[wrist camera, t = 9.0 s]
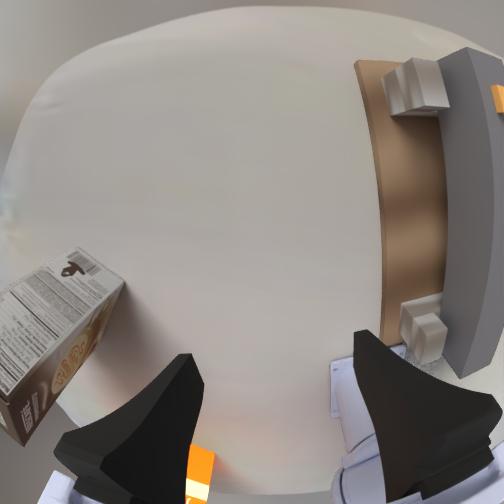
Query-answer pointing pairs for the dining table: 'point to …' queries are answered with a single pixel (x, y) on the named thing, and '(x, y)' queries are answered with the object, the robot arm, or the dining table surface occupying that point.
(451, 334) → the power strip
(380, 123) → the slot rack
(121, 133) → the dining table surface
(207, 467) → the orange juice
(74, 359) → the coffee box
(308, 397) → the dining table surface
